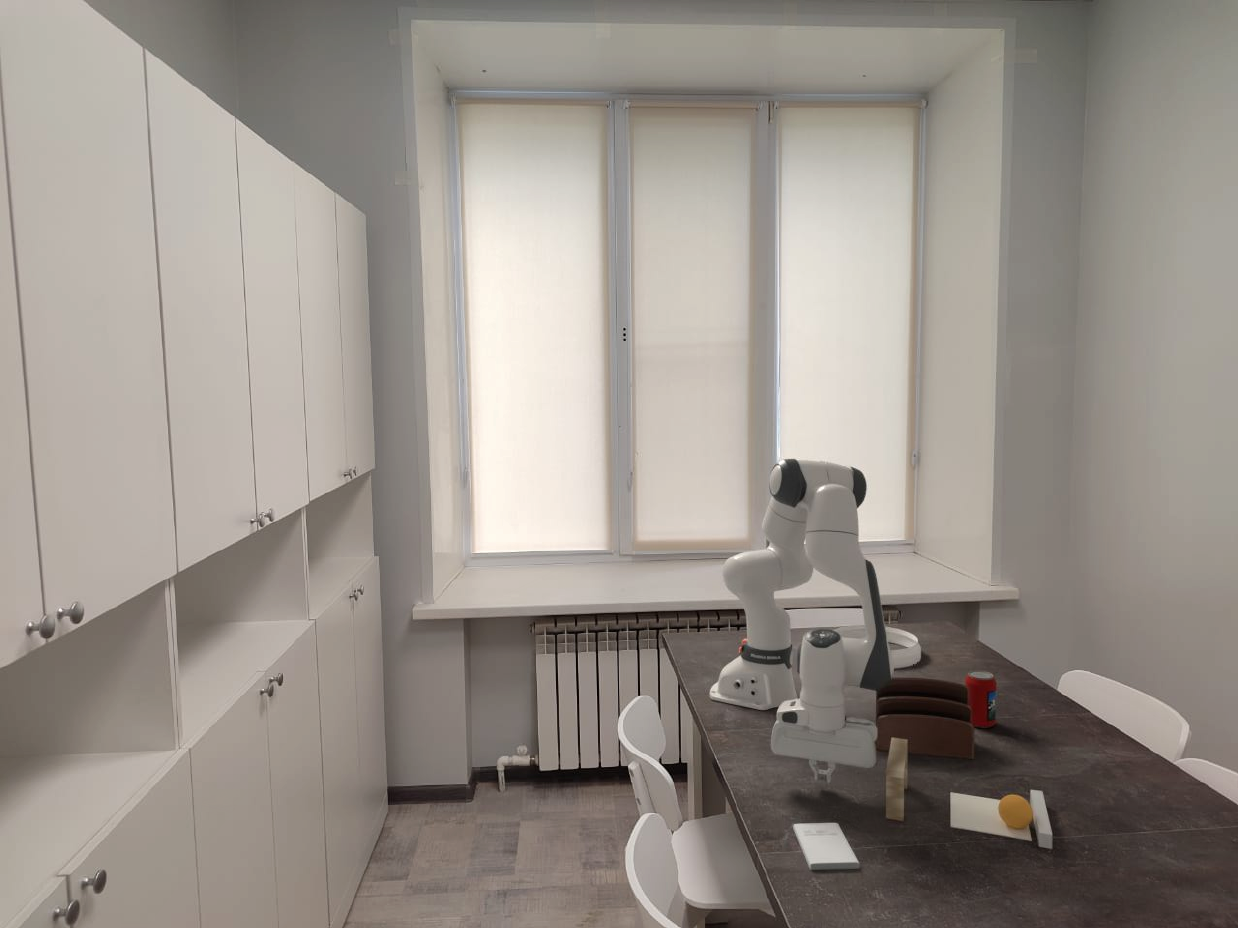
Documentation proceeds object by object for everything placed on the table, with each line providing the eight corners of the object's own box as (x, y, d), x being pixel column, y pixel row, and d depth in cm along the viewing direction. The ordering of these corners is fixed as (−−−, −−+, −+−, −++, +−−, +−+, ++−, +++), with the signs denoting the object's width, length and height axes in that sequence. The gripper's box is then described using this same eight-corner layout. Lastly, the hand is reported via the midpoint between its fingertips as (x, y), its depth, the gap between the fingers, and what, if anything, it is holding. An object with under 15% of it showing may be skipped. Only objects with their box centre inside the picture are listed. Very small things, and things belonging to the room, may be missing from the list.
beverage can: (999, 730, 182) (1000, 679, 181) (968, 728, 184) (968, 678, 183) (991, 718, 189) (992, 669, 188) (961, 717, 190) (962, 668, 189)
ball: (993, 821, 141) (1011, 799, 139) (990, 804, 146) (1008, 782, 144) (1023, 841, 140) (1041, 818, 138) (1019, 822, 145) (1037, 800, 143)
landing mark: (950, 826, 142) (950, 825, 142) (950, 793, 154) (950, 792, 154) (1031, 840, 137) (1031, 839, 137) (1024, 804, 149) (1025, 803, 149)
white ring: (813, 659, 235) (813, 641, 235) (844, 636, 257) (844, 619, 257) (906, 676, 220) (906, 656, 219) (930, 649, 242) (930, 632, 241)
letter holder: (875, 732, 183) (875, 673, 182) (968, 741, 178) (969, 680, 176) (876, 750, 174) (876, 688, 173) (974, 760, 168) (975, 696, 167)
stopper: (1038, 846, 136) (1039, 832, 135) (1030, 801, 150) (1030, 789, 150) (1052, 848, 135) (1052, 834, 135) (1042, 803, 150) (1042, 791, 149)
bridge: (886, 817, 146) (886, 769, 145) (891, 781, 159) (891, 737, 159) (903, 820, 145) (903, 771, 144) (907, 784, 158) (907, 739, 157)
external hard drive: (810, 872, 131) (793, 831, 143) (859, 871, 131) (838, 830, 143) (810, 863, 130) (793, 822, 143) (859, 861, 131) (838, 821, 143)
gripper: (879, 714, 155) (878, 781, 156) (775, 700, 163) (775, 765, 164) (876, 726, 149) (876, 796, 150) (768, 712, 157) (769, 779, 158)
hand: (822, 780), depth 157 cm, fingers closed
